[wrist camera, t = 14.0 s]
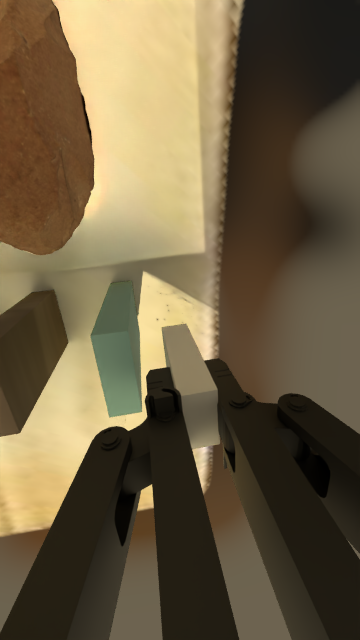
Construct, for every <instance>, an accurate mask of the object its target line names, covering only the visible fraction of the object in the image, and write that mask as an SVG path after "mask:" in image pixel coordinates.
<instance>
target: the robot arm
mask: <svg viewBox="0 0 360 640" xmlns="http://www.w3.org/2000/svg"><path fill="white" fill-rule="evenodd" d="M162 334H163V342H164V350H165V358H166V366H167V367H166V368H160V369H154V370H150V371H149V373H148V374H147V376H146V381H147V396H146V398H145V405H146V410H147V418H146V420H145V421H144V422H143V423H142V424H141V425H140V426H138V427H136V428H134V429H132V430H130V431H128V430H126V429H125V428H123V427H118V426H115V427H109V428H107V429H104V430H102V431H101V432H100V433H98V434H97V435H96V436H95V438H94V439H93V440H92V442H91V444H90V446H89V448H88V450H87V453H86V455H85V457H84V459H83V461H82V463H81V465H80V467H79V469H78V471H77V474H76V476H75V478H74V480H73V482H72V484H71V486H70V488H69V490H68V492H67V494H66V497H65V499H64V501H63V503H62V505H61V507H60V509H59V511H58V513H57V515H56V517H55V520H54V522H53V524H52V526H51V528H50V530H49V532H48V534H47V537H46V538H45V541H44V543H43V545H42V547H41V549H40V551H39V553H38V555H37V558H36V559H35V561H34V563H33V566H32V568H31V570H30V572H29V574H28V576H27V578H26V580H25V583H24V584H23V586H22V589H21V591H20V593H19V595H18V597H17V599H16V601H15V603H14V605H13V607H12V610H11V612H10V614H9V616H8V618H7V620H6V622H5V624H4V626H3V628H2V631H1V632H0V640H109V636H110V632H111V627H112V622H113V618H114V613H115V609H116V604H117V599H118V595H119V590H120V586H121V581H122V576H123V572H124V568H125V563H126V558H127V553H128V549H129V545H130V540H131V535H132V531H133V526H134V521H135V517H136V512H137V508H138V503H139V499H140V494H141V490H142V489H144V488H146V487H148V486H149V485H151V484H152V487H153V502H154V517H155V532H156V546H157V561H158V576H159V591H160V606H161V619H162V620H161V621H162V636H163V640H239V637H238V633H237V629H236V625H235V621H234V617H233V613H232V609H231V605H230V601H229V596H228V592H227V588H226V584H225V580H224V576H223V572H222V568H221V564H220V560H219V557H218V552H217V548H216V544H215V540H214V536H213V532H212V528H211V524H210V520H209V516H208V512H207V508H206V504H205V500H204V496H203V492H202V488H201V484H200V479H199V475H198V471H197V467H196V463H195V459H194V455H193V451H192V449H196V448H201V447H206V446H211V445H216V444H220V437H221V440H222V442H223V460H224V468H225V469H226V468H227V465H228V467H229V470H230V473H231V476H232V478H233V481H234V484H235V487H236V489H237V492H238V495H239V497H240V500H241V503H242V506H243V508H244V511H245V514H246V516H247V519H248V522H249V524H250V527H251V530H252V533H253V535H254V538H255V541H256V543H257V546H258V549H259V552H260V554H261V557H262V560H263V563H264V565H265V568H266V570H267V573H268V576H269V579H270V582H271V584H272V587H273V590H274V592H275V595H276V598H277V601H278V603H279V606H280V609H281V611H282V614H283V617H284V620H285V622H286V625H287V628H288V630H289V633H290V636H291V638H292V640H360V559H359V558H358V556H357V555H356V553H355V552H354V550H353V549H352V547H351V545H350V544H349V542H350V543H351V544H352V545H353V547H354V548H355V549H356V550H357V551H358V552H359V553H360V434H358V433H357V432H356V431H354V430H353V429H352V428H350V427H349V426H347V425H346V424H345V423H343V422H342V421H340V420H339V419H338V418H336V417H335V416H333V415H332V414H331V413H329V412H328V411H326V410H325V409H324V408H322V407H321V406H319V405H318V404H316V403H315V402H314V401H312V400H311V399H309V398H307V397H305V396H303V395H300V394H292V393H290V394H285V395H283V396H281V397H280V398H279V400H278V404H273V403H261V402H257V401H256V400H255V399H254V398H253V397H252V396H251V395H250V394H248V393H246V392H243V390H242V389H241V387H240V385H239V384H238V382H237V380H236V379H235V378H234V376H233V375H232V372H231V371H230V370H229V368H228V366H227V364H226V363H225V362H223V361H222V360H220V359H219V358H218V359H211V360H205V361H204V360H203V358H202V356H201V354H200V352H199V349H198V347H197V345H196V343H195V341H194V339H193V337H192V335H191V333H190V331H189V328H188V326H187V324H181V325H174V326H167V327H162ZM219 435H220V436H219ZM347 540H348V541H349V542H348V541H347Z"/></svg>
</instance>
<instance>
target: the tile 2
mask: <svg viewBox="0 0 360 640" xmlns="http://www.w3.org/2000/svg"><path fill="white" fill-rule="evenodd" d="M67 344H68V339H67V335H66V332H65V328H64V324H63V321H62V317H61V313H60V310H59V306H58V302H57V298H56V295H55V291H54V290H50V291H41V292H32V293H31V294H29V295H28V296H26V297H25V298H24V299H22V300H21V301H20V302H18V303H17V304H15V305H14V306H13V307H11V308H10V309H9V310H7V311H6V312H4V313H3V314H2V315H0V437H1V436H7V435H12V434H18V433H20V432H21V430H22V428H23V426H24V425H25V423H26V421H27V419H28V417H29V415H30V413H31V411H32V410H33V408H34V406H35V404H36V402H37V400H38V398H39V397H40V395H41V393H42V391H43V389H44V387H45V385H46V383H47V382H48V380H49V378H50V376H51V374H52V372H53V370H54V369H55V367H56V365H57V363H58V361H59V359H60V357H61V356H62V354H63V352H64V350H65V348H66V346H67Z"/></svg>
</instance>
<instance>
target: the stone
mask: <svg viewBox="0 0 360 640" xmlns="http://www.w3.org/2000/svg"><path fill="white" fill-rule="evenodd" d="M93 187H94V155H93V151H92V136H91V129H90V125H89V120H88V116H87V113H86V109H85V101H84V97H83V95H82V93H81V90H80V87H79V85H78V80H77V67H76V59H75V57H74V55H73V53H72V52H71V50H70V48H69V45H68V42H67V40H66V38H65V35H64V33H63V30H62V26H61V22H60V16H59V11H58V9H57V7H56V6H55V5H54V3H53V1H52V0H0V241H1V242H4V243H6V244H9V245H11V246H13V247H14V248H17V249H20V250H24V251H28V252H30V253H33V254H35V255H46V254H52V253H53V252H54V251H56V250H59V249H60V248H62V247H63V246H64V245H65V244H66V243H67V241H68V240H69V239H70V238H71V237H72V234H73V232H74V230H75V229H76V228H77V227H78V226H79V224H80V222H81V220H82V218H83V216H84V211H85V207H86V204H87V203H88V200H89V197H90V195H91V192H90V191H91V190H93Z"/></svg>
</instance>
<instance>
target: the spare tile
mask: <svg viewBox="0 0 360 640" xmlns="http://www.w3.org/2000/svg"><path fill="white" fill-rule="evenodd" d="M91 340H92V345H93V349H94V353H95V358H96V362H97V366H98V371H99V375H100V379H101V383H102V388H103V392H104V396H105V401H106V405H107V409H108V414H109V417H115V416H121V415H127V414H133V413H138V412H142V395H141V363H140V332H139V326H138V319H137V313H136V306H135V300H134V293H133V287H132V281H126V282H117V283H111V284H110V286H109V289H108V292H107V294H106V297H105V300H104V302H103V305H102V307H101V310H100V313H99V315H98V318H97V320H96V323H95V326H94V328H93V331H92V333H91Z"/></svg>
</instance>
